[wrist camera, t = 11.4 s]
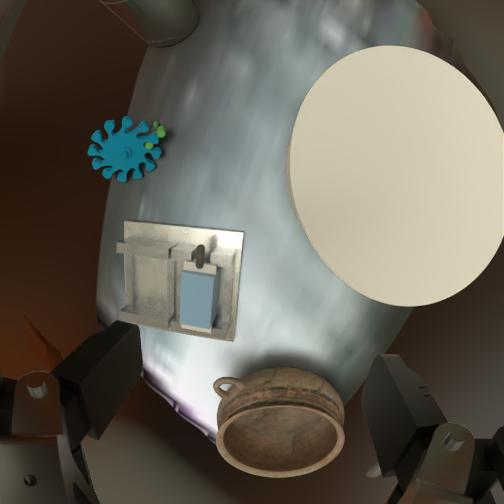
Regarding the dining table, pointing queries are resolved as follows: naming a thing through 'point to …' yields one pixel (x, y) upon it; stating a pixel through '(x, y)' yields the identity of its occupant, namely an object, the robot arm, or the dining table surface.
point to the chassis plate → (177, 274)
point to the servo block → (199, 293)
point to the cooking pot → (279, 422)
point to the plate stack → (398, 175)
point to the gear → (126, 148)
